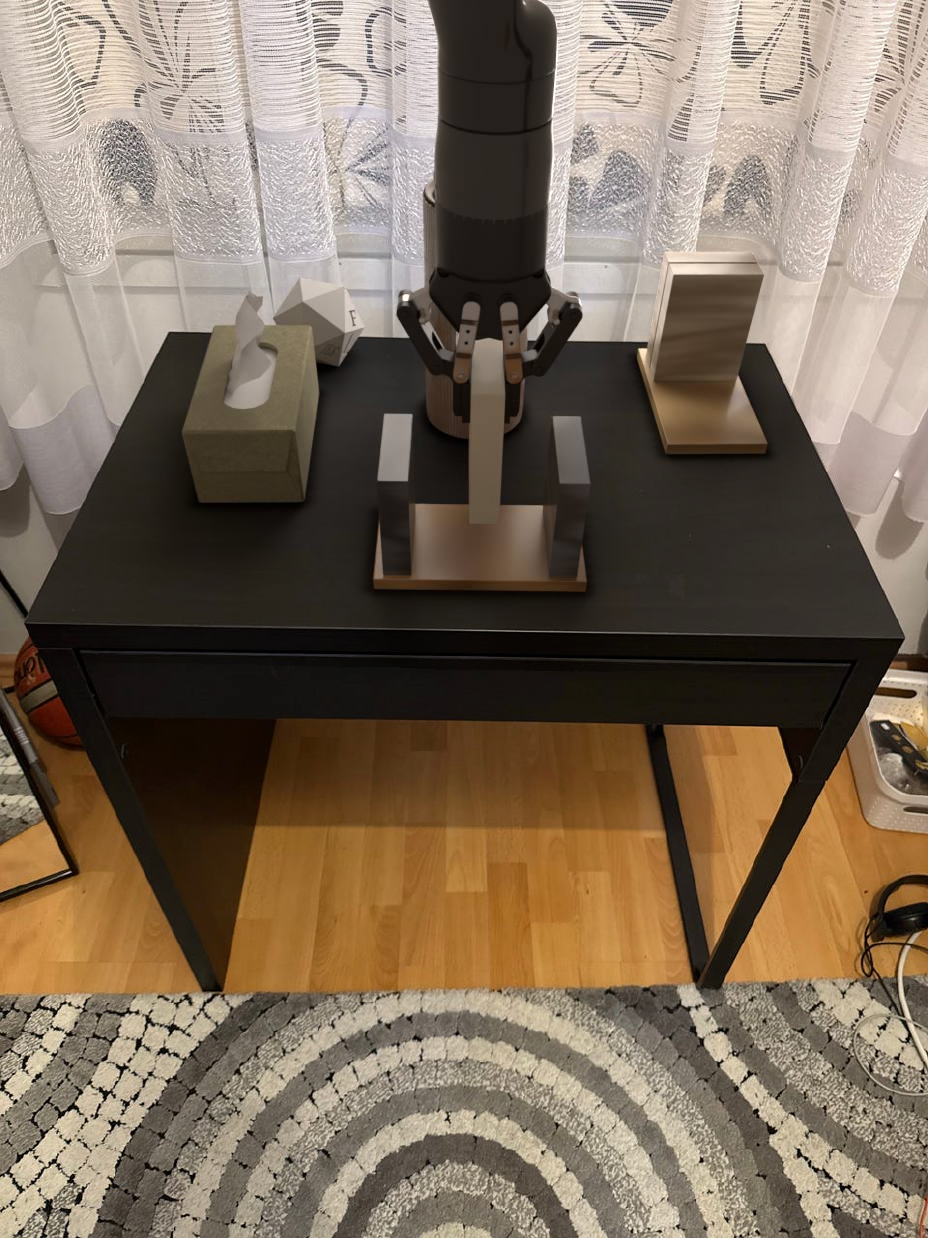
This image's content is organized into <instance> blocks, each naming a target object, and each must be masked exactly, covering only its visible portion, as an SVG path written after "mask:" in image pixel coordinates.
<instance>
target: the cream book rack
mask: <svg viewBox="0 0 928 1238" xmlns="http://www.w3.org/2000/svg"><path fill="white" fill-rule="evenodd" d="M764 277H765V273H764V271H763V270H762V268H761V266H760V264H759V263H758V261H757V259H756V257H755V255H754V253H753V252H752V251H664V252H663V257H662V262H661V268H660V273H659V278H658V279H659V280H658V285H657V290H656V297H655V302H654V308H653V314H652V319H651V324H650V329H649V335H648V340H647V346H646V348H638V349H637V355H636V359H637V363H638V366H639V367H638V368H639V369H640V374H641V376H642V379H643V383H644V387H645V389H646V393H647V396H648V399H649V402H650V406H651V409H652V413H653V417H654V419H655V423H656V425H657V429H658V432H659V436H660V439H661V443H662V445H663V448H664V452H665V454H666V455H718V454H719V455H729V454H730V455H732V454H734V455H736V454H738V455H740V454H745V455H748V454H766V451H767V448H768V445H769V443H768V442H767V438H766V436H765V434H764V432H763V429H762V427H761V425H760V423H759V420H758V418H757V415H756V413H755V410H754V409H753V406H752V405H751V402H750V399H749V397H748V395H747V392H746V390H745V388H744V385H743V383H742V381H741V379H740V376H739V372H740V368H741V364H742V361H743V357H744V354H745V353H744V352H745V349H746V346H747V342H748V337H749V334H750V330H751V327H752V322H753V319H754V315H755V312H756V309H757V308H756V307H757V304H758V300H759V296H760V292H761V289H762V285H763V281H764Z"/></svg>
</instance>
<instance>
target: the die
mask: <svg viewBox="0 0 928 1238" xmlns="http://www.w3.org/2000/svg"><path fill="white" fill-rule="evenodd" d="M272 320H273V321H274V324H275V325H310V326H311V327H312V333H313V342H314V351H315V360H316V363H319V364H323V365H324V364H325V365H327V366H328V365H329V366H334V367H340V365H341V364H342V362H343V361H344V359H346V356H347V355H348V353H349V352H350V351H351V349H352V347H353V346H354V344H355V343H356V342H357V340H358V339H359V337H360V335H361V334H362V333H363V331H364V329H365V328H366V326H365V324H364V322H363V320H362V318H361V316H360V314H359V312H358V310H357V308H356V306H355V304H354V302H353V300H352V298H351V296H350V293H349V292H348V290H347V288H346V286H345V285H340V284H336V283H331V282H326V281H320V280H315V279H309V278H305V277H299V278H298V279H297V281H296V283H295V284H294V285H293V287H292V289H291V290H290V291H289V293H288V295H287V296H286V298H285V299H284V300H283V302H282V303H281V305H280V307H279V308H278V309H277V310H276V312H275V314H274V315H273V317H272Z"/></svg>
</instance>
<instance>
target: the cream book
mask: <svg viewBox="0 0 928 1238" xmlns="http://www.w3.org/2000/svg"><path fill="white" fill-rule="evenodd" d="M504 412H505V381H504V362H503V343H502V341H499V340H495V339H491V338H486V339H482V340H475V346H474V352H473V357H472V361H471V405H470V423H469V439H468V505H469V524H499V515H500V505H501V490H502V471H503V454H504V453H503V451H504V434H503V432H504Z"/></svg>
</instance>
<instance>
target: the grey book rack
mask: <svg viewBox="0 0 928 1238" xmlns="http://www.w3.org/2000/svg"><path fill="white" fill-rule="evenodd" d="M413 418H414V415H413V414H412V413H384V414H383V417H382V426H381V427H382V428H381V439H380V449H379V457H378V466H377V478H376V490H377V504H378V505H377V506H378V527H377V536H376V545H375V555H374V565H373V566H374V567H373V575H372V576H373V577H372V583H373V589H374V590H417V591H418V590H419V591H420V590H423V591H425V590H426V591H429V590H430V591H496V592H498V591H502V592H505V591H506V592H508V591H509V592H576V593H577V592H580V593H581V592H582V593H585V592H586V590H587V584H588V579H587V572H586V564H585V556H584V548H583V539H584V534H585V533H584V532H585V524H586V518H587V513H588V506H589V505H588V504H589V499H590V491H591V484H592V483H591V477H590V471H589V463H588V457H587V449H586V444H585V443H586V442H585V437H584V430H583V429H584V428H583V423H582V417H581V416H572V415H571V416H567V415H566V416H565V415H564V416H563V415H562V416H561V415H553V416H551V422H550V431H549V432H550V434H549V442H548V452H547V453H548V454H547V462H546V473H545V483H544V493H543V501H542V502H543V503H542V505H541V504H540V505H534V504H533V505H531V504H530V505H529V504H500V515H499V524H469V504H462V503H461V504H459V503H457V504H456V503H455V504H451V503H449V504H448V503H416V483H415V482H416V481H415V449H414V447H415V446H414V445H415V444H414V419H413Z"/></svg>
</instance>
